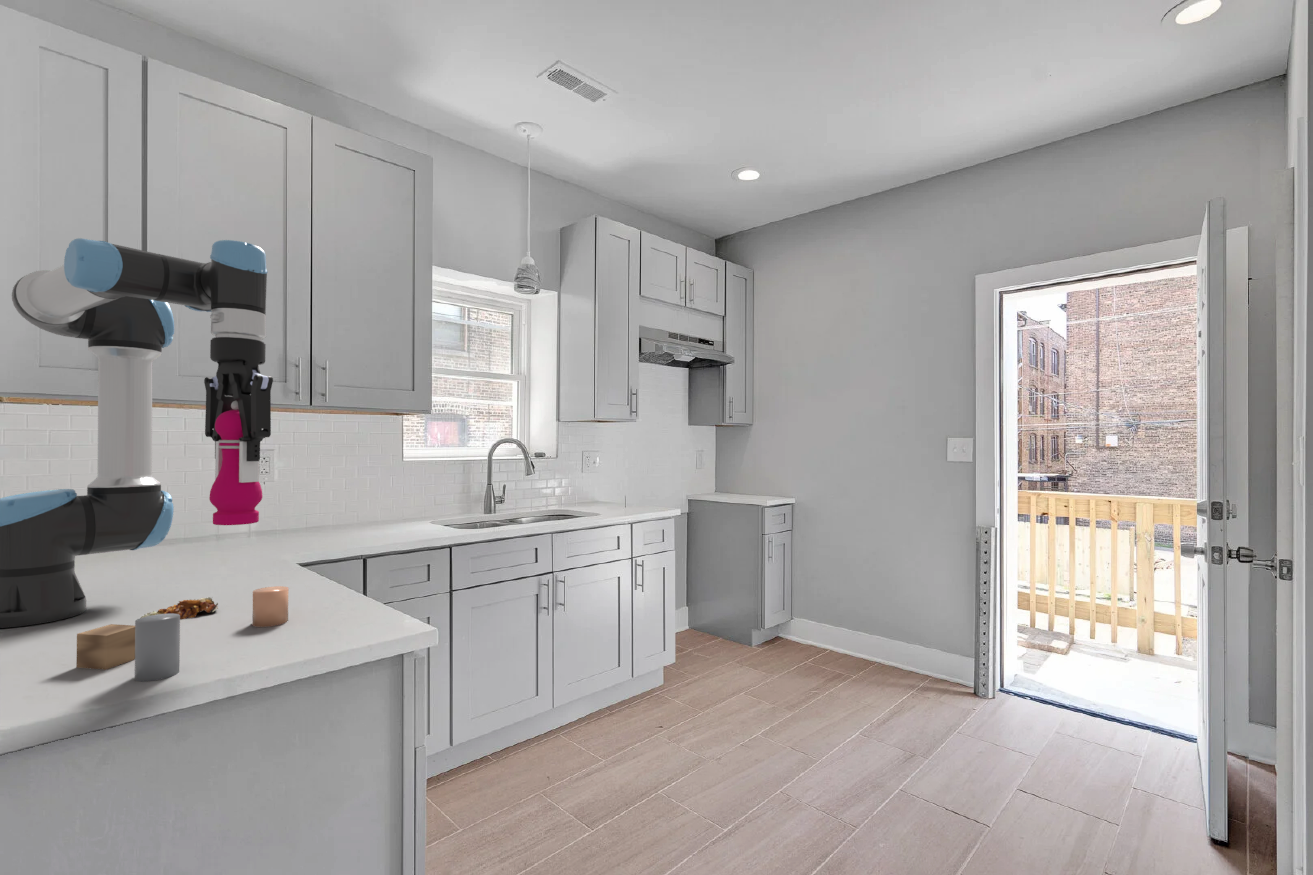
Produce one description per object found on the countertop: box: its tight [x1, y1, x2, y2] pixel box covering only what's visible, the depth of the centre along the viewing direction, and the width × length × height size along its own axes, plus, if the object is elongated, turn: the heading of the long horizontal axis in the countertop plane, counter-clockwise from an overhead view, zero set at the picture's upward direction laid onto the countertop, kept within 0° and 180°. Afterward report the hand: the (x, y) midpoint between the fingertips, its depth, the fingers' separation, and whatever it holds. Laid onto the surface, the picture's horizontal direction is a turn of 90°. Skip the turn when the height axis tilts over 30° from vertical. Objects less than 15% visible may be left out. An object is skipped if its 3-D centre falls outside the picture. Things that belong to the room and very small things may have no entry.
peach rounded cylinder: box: [251, 585, 290, 628], centre depth 116 cm, size 6×6×6 cm
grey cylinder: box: [134, 614, 181, 682], centre depth 90 cm, size 5×5×8 cm
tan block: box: [75, 623, 135, 671], centre depth 95 cm, size 5×5×5 cm
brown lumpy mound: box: [140, 596, 219, 620], centre depth 120 cm, size 7×12×4 cm, turn 136°
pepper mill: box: [208, 401, 263, 526], centre depth 103 cm, size 7×7×20 cm
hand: (236, 481), depth 103 cm, fingers closed on pepper mill, 5 cm apart
